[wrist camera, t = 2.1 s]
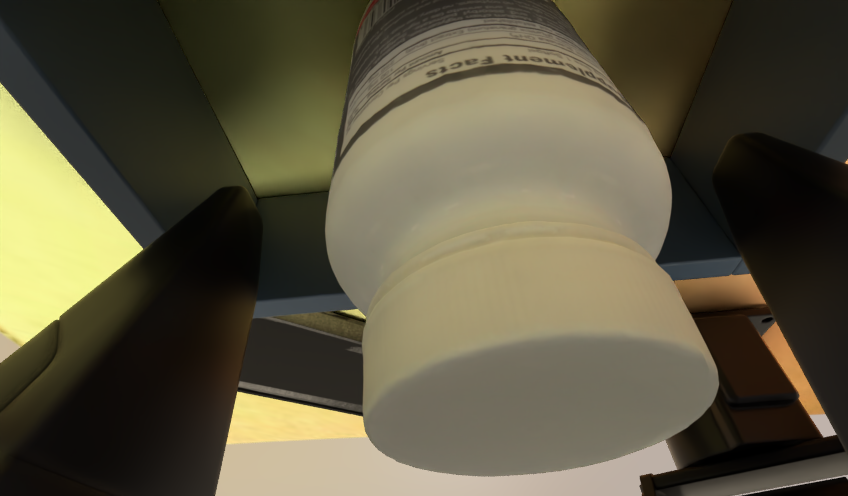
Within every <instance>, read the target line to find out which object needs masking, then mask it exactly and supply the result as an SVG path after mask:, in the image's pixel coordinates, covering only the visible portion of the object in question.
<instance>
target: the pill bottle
mask: <svg viewBox="0 0 848 496" xmlns="http://www.w3.org/2000/svg"><path fill="white" fill-rule="evenodd" d="M671 207H672V190H671V183H670V178H669V174H668V170H667V167H666V164H665V161H664V159H663V156H662V154H661V153H660V151H659V149H658V147H657V145H656V143H655V142H654V140H653V138H652V135H651V133H650V131H649V129H648V128H647V126H646V125H645V123H644V122H643V121H642V119H641V118H640V117H639V116H638V115H637V114H636V112H635V111H634V109H633V108H632V107H631V105H630V104H629V103H628V101H627V100H626V99H625V98H624V96H623V95H622V94H621V93H620V91H619V90H618V89H617V88H616V86H615V85H614V83H613V82H612V81H611V79H610V78H609V76H608V75H607V73H606V72H605V71H604V69H603V68H602V67H601V65H600V64H599V63H598V61H597V60H596V59H595V57H594V56H593V55H592V54H591V52H590V51H589V50H588V48H587V46H586V45H585V44H584V42H583V41H582V40H581V38H580V37H579V36H578V34H577V33H576V31H575V30H574V28H573V26H572V25H571V24H570V22H569V21H568V20H567V18H566V17H565V16H564V15H563V13H562V12H561V11H560V10H559V9H558V7H557V6H556V5H555V3H554V2H553V1H552V0H370V2H369V3H368V5H367V7H366V9H365V11H364V14H363V16H362V18H361V21H360V23H359V26H358V30H357V33H356V37H355V41H354V45H353V52H352V59H351V67H350V73H349V79H348V85H347V91H346V97H345V103H344V108H343V114H342V119H341V125H340V129H339V133H338V139H337V148H336V153H335V161H334V168H333V175H332V180H331V186H330V191H329V198H328V205H327V211H326V224H325V237H326V246H327V253H328V257H329V261H330V264H331V267H332V270H333V272H334V274H335V276H336V278H337V280H338V282H339V284H340V286H341V288H342V289H343V290H344V292H345V293H346V294H347V296H348V297H349V299H350V300H351V301H352V303H353V304H354V305H355V306H356V307H357V308H358V309H359V310H360V311H361V312H362V313H363V314H364V315H365V316H366V325H365V327H364V331H363V339H362V351H363V420H364V427H365V432H366V434H367V435H368V437H369V439H370V441H371V442H372V443H373V444H374V446H375V447H376V448H377V449H378V450H380V451H381V452H382V453H384V454H385V455H387V456H389V457H390V458H393V459H395V460H396V461H398V462H400V463H403V464H406V465H409V466H412V467H415V468H420V469H424V470H429V471H434V472H440V473H449V474H456V475H468V476H509V475H523V474H536V473H546V472H554V471H562V470H567V469H573V468H578V467H584V466H589V465H593V464H597V463H601V462H605V461H609V460H613V459H616V458H619V457H622V456H625V455H628V454H630V453H633V452H636V451H639V450H642V449H644V448H647V447H650V446H652V445H655V444H657V443H659V442H661V441H664V440H666V439H668V438H670V437H672V436H673V435H675V434H677V433H679V432H680V431H682V430H684V429H686V428H688V426H689V425H690V424H692V423H693V422H694V421H696V420H697V419H699V418H700V417H701V416H702V415H703V414H704V413H705V411H706V410H707V409H708V408H709V407H710V406H711V404H712V403H713V401H714V399H715V397H716V394H717V391H718V387H719V380H718V370H717V368H716V365H715V362H714V360H713V358H712V356H711V354H710V352H709V350H708V348H707V346H706V344H705V342H704V340H703V338H702V336H701V334H700V332H699V330H698V328H697V326H696V324H695V322H694V320H693V318H692V316H691V314H690V312H689V311H688V309H687V307H686V305H685V303H684V301H683V299H682V298H681V295H680V292H679V290H678V288H677V287H676V285H675V283H674V282H673V280H672V279H671V277H670V275H668V274H667V273H666V272H665V271H664V270H663V269H662V268H661V267H660V266H659V265H658V264H657V263H656V261H655V260H656V258H657V256H658V255H659V253H660V251H661V248H662V245H663V243H664V240H665V237H666V234H667V231H668V226H669V221H670V214H671Z"/></svg>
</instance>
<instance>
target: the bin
mask: <svg viewBox="0 0 848 496" xmlns="http://www.w3.org/2000/svg"><path fill="white" fill-rule="evenodd" d="M0 83H1V84H2V85H3V86H4V87H5V88H6V90H7V91H8V92H9V93H10V94H11V95H12V97H13V98H14V99H15V100H16V101H17V102H18V104H19V105H20V106H21V107H22V108H23V109H24V110H25V112H26V113H27V114H28V115H29V116H30V117H31V119H32V120H33V121H34V122H35V123H36V124H37V126H38V127H39V128H40V129H41V130H42V131H43V133H44V134H45V135H46V136H47V137H48V138H49V140H50V141H51V142H52V143H53V144H54V145H55V147H56V148H57V149H58V150H59V151H60V152H61V153H62V155H63V156H64V157H65V158H66V159H67V160H68V162H69V163H70V164H71V165H72V166H73V167H74V169H75V170H76V171H77V172H78V173H79V174H80V176H81V177H82V178H83V179H84V180H85V181H86V183H87V184H88V185H89V186H90V187H91V188H92V190H93V191H94V192H95V193H96V194H97V195H98V196H99V198H100V199H101V200H102V201H103V202H104V203H105V205H106V206H107V207H108V208H109V209H110V210H111V212H112V213H113V214H114V215H115V216H116V217H117V219H118V220H119V221H120V222H121V223H122V224H123V226H124V227H125V228H126V229H127V230H128V231H129V232H130V234H131V235H132V236H133V237H134V238H135V239H136V241H137V242H138V243H139V244H140V245H141V246H142V248H143V249H145V248H146V247H147V246H148V245H150V244H151V243H152V242H153V241H155V240H156V239H157V238H158V237H160V236H161V235H162V234H163V233H165V232H166V231H167V230H168V229H170V228H171V227H172V226H173V225H175V224H176V223H177V222H178V221H180V220H181V219H182V218H183V217H185V216H186V215H187V214H188V213H190V212H191V211H192V210H193V209H195V208H196V207H197V206H198V205H200V204H201V203H202V202H203V201H205V200H206V199H207V198H209V197H210V196H211V195H212V194H214V193H215V192H216V191H217V190H219V189H220V188H222V187H229V186H239V185H240V186H243V187H245V188H246V189H247V190H248V192H249V194H250V196H251V198H252V200H253V202H254V204H255V205H256V207H257V209H258V211H259V213H260V215H261V218H262V221H263V238H262V250H261V261H260V273H259V285H258V293H257V299H256V305H255V310H254V314H253V318H262V317H273V316H284V315H295V314H307V313H318V312H329V311H340V310H351V309H358V308H357V307H356V306H355V305H354V304H353V303H352V301H351V300H350V299H349V297H348V296H347V294H346V293H345V292H344V290H343V289H342V288H341V286H340V284H339V282H338V280H337V278H336V276H335V274H334V272H333V270H332V267H331V264H330V261H329V257H328V253H327V246H326V237H325V224H326V211H327V205H328V198H329V192H320V193H310V194H300V195H291V196H281V197H271V198H261V199H257V197H256V195H255V193H254V191H253V189H252V188H251V186H250V184H249V182H248V180H247V178H246V176H245V174H244V172H243V170H242V168H241V166H240V164H239V162H238V160H237V158H236V156H235V154H234V152H233V150H232V148H231V146H230V144H229V142H228V140H227V138H226V136H225V134H224V132H223V130H222V128H221V126H220V124H219V122H218V120H217V118H216V116H215V114H214V112H213V110H212V108H211V106H210V104H209V102H208V100H207V98H206V96H205V94H204V92H203V90H202V88H201V86H200V84H199V82H198V80H197V78H196V76H195V74H194V72H193V70H192V68H191V67H190V65H189V63H188V61H187V59H186V57H185V55H184V53H183V51H182V49H181V47H180V45H179V43H178V41H177V39H176V37H175V35H174V33H173V31H172V29H171V27H170V25H169V23H168V21H167V19H166V17H165V15H164V13H163V11H162V9H161V7H160V5H159V3H158V1H157V0H0ZM753 132H760V133H764V134H767V135H769V136H772V137H775V138H777V139H780V140H783V141H786V142H788V143H791V144H794V145H796V146H799V147H802V148H805V149H807V150H810V151H813V152H815V153H818V154H821V155H824V156H826V157H829V158H832V159H835V160H837V161H840V162H843V163H845V162H846V161H847V159H848V0H733V2H732V5H731V7H730V10H729V12H728V15H727V17H726V20H725V22H724V25H723V27H722V30H721V32H720V35H719V37H718V40H717V42H716V45H715V47H714V50H713V52H712V55H711V57H710V60H709V62H708V65H707V67H706V70H705V72H704V75H703V77H702V80H701V82H700V85H699V87H698V90H697V92H696V95H695V97H694V100H693V103H692V105H691V108H690V110H689V113H688V115H687V118H686V120H685V123H684V125H683V128H682V130H681V133H680V135H679V138H678V140H677V143H676V145H675V148H674V150H673V153H672V155H671V158H669V157H665V158H663V159H664V161H665V164H666V167H667V170H668V174H669V178H670V183H671V190H672V207H671V214H670V221H669V226H668V231H667V234H666V237H665V240H664V243H663V245H662V248H661V251H660V253H659V255H658V256H657V258H656V260H655V261H656V263H657V264H658V265H659V266H660V267H661V268H662V269H663V270H664V271H665V272H666V273H667V274H668V275H670V277H671V279H672V280H673V281H675V280H686V279H698V278H709V277H720V276H729V275H731V274H732V275H741V274H750V272H749V270H748V268H747V266H746V265H745V263H744V261H743V259H742V257H741V255H740V253H739V251H738V248H737V246H736V244H735V241H734V239H733V236H732V234H731V231H730V228H729V226H728V223H727V221H726V218H725V216H724V213H723V210H722V208H721V205H720V203H719V200H718V197H717V195H716V192H715V190H714V187H713V184H712V173H713V170H714V168H715V166H716V164H717V162H718V160H719V158H720V156H721V154H722V152H723V150H724V148H725V146H726V144H727V142H728V140H729V139H730V138H731V137H733V136H734V135H737V134H744V133H753Z"/></svg>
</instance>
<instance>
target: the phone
mask: <svg viewBox="0 0 848 496" xmlns="http://www.w3.org/2000/svg"><path fill="white" fill-rule="evenodd" d="M365 325H366V323H364V322H361V321H358V320H354V319H351V318H348V317H344V316H341V315H338V314H335V313H331V312H318V313H307V314H295V315H284V316H273V317H262V318H253V319H252V324H251V329H250V333H249V338H248V343H247V347H246V352H245V357H244V362H243V366H242V371H241V376H240V380H239V385H238V390H237V391H238V392H243V393H248V394H253V395H258V396H263V397H268V398H273V399H278V400H283V401H288V402H293V403H298V404H303V405H308V406H313V407H318V408H323V409H328V410H333V411H338V412H343V413H348V414H353V415H358V416H363V351H362V339H363V331H364V327H365Z"/></svg>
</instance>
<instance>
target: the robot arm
mask: <svg viewBox="0 0 848 496" xmlns="http://www.w3.org/2000/svg"><path fill="white" fill-rule="evenodd" d="M712 184H713V187H714V190H715V192H716V195H717V197H718V200H719V203H720V205H721V208H722V210H723V213H724V216H725V218H726V221H727V223H728V226H729V228H730V231H731V234H732V236H733V239H734V241H735V244H736V246H737V248H738V251H739V253H740V255H741V257H742V259H743V261H744V263H745V265H746V266H747V268H748V270H749V272H750V274H751V276H752V278H753V279H754V281H755V283H756V285H757V287H758V289H759V291H760V292H761V294H762V296H763V298H764V300H765V302H766V304H767V306H768V307H769V308H757V309H745V310H733V311H722V312H710V313H699V314H691V316H692V318H693V320H694V322H695V324H696V326H697V328H698V330H699V332H700V334H701V336H702V338H703V340H704V342H705V344H706V346H707V348H708V350H709V352H710V354H711V356H712V358H713V360H714V362H715V365H716V368H717V370H718V380H719V387H718V391H717V394H716V397H715V399H714V401H713V403H712V404H711V406H710V407H709V408H708V409H707V410H706V411H705V413H704V414H703V415H702V416H701V417H700V418H699V419H697V420H696V421H694V422H693V423H692V424H690V425H689V426H688V428H686V429H684V430H682V431H680V432H679V433H677V434H675V435H673V436H672V437H670V438H668V439H666V443H667V445H668V448H669V450H670V452H671V455H672V457H673V460H674V462H675V465H676V467H677V470H674V471H670V472H666V473H661V474H657V475H653V474H646V475H642V476H640V481H641V485H640V489H641V492H642V496H733V495H739V494H744V493H750V492H755V491H760V490H766V489H772V488H777V487H783V486H787V485H793V484H799V483H804V482H810V481H815V480H821V479H826V478H832V477H837V476H842V475H848V164H845V163H843V162H840V161H837V160H835V159H832V158H829V157H826V156H824V155H821V154H818V153H815V152H813V151H810V150H807V149H805V148H802V147H799V146H796V145H794V144H791V143H788V142H786V141H783V140H780V139H777V138H775V137H772V136H769V135H767V134H764V133H760V132H753V133H744V134H737V135H734V136H733V137H731V138H730V139H729V140H728V142H727V144H726V146H725V148H724V150H723V152H722V154H721V156H720V158H719V160H718V162H717V164H716V166H715V168H714V170H713V173H712ZM262 238H263V221H262V218H261V215H260V213H259V211H258V209H257V207H256V205H255V204H254V202H253V200H252V198H251V196H250V194H249V192H248V190H247V189H246V188H245V187H243V186H240V185H239V186H229V187H222V188H220V189H219V190H217V191H216V192H215V193H214V194H212V195H211V196H210V197H209V198H207V199H206V200H205V201H203V202H202V203H201V204H200V205H198V206H197V207H196V208H195V209H193V210H192V211H191V212H190V213H188V214H187V215H186V216H185V217H183V218H182V219H181V220H180V221H178V222H177V223H176V224H175V225H173V226H172V227H171V228H170V229H168V230H167V231H166V232H165V233H163V234H162V235H161V236H160V237H158V238H157V239H156V240H155V241H153V242H152V243H151V244H150V245H148V246H147V247H146V248H145V249H143V250H142V251H141V252H140V253H138V254H137V255H136V256H135V257H133V258H132V259H131V260H130V261H128V262H127V263H126V264H125V265H123V266H122V267H121V268H120V269H118V270H117V271H116V272H115V273H113V274H112V275H111V276H110V277H108V278H107V279H106V280H105V281H103V282H102V283H101V284H100V285H98V286H97V287H96V288H95V289H93V290H92V291H91V292H90V293H88V294H87V295H86V296H85V297H83V298H82V299H81V300H80V301H78V302H77V303H76V304H75V305H73V306H72V307H71V308H70V309H68V310H67V311H66V312H65V313H63V314H62V315H61V316H60V318H59V320H55V321H53V322H52V323H51V324H50V325H48V326H47V327H46V328H45V329H43V330H42V331H41V332H40V333H38V334H37V335H36V336H35V337H33V338H32V339H31V340H30V341H28V342H27V343H26V344H24V345H23V346H22V347H21V348H19V349H18V350H17V351H15V352H14V353H13V354H12V355H10V356H9V357H8V358H7V359H5V360H4V361H3V362H2V363H0V496H215V494H216V489H217V484H218V479H219V475H220V470H221V465H222V461H223V456H224V451H225V446H226V442H227V437H228V432H229V428H230V423H231V418H232V413H233V409H234V404H235V399H236V395H237V390H238V385H239V380H240V376H241V371H242V366H243V362H244V357H245V352H246V347H247V343H248V338H249V333H250V329H251V324H252V319H253V314H254V310H255V305H256V299H257V293H258V285H259V273H260V261H261V250H262ZM775 321H776V322H777V324H778V326H779V328H780V330H781V332H782V333H783V335H784V337H785V339H786V341H787V343H788V345H789V347H790V348H791V350H792V352H793V354H794V356H795V358H796V360H797V361H798V363H799V365H800V367H801V369H802V371H803V373H804V375H805V376H806V378H807V380H808V382H809V384H810V386H811V388H812V389H813V391H814V393H815V395H816V397H817V399H818V401H819V402H820V404H821V406H822V408H823V410H824V412H825V414H826V416H827V417H828V419H829V421H830V423H831V425H832V427H833V429H834V430H835V432H836V434H837V435H833V436H829V437H823V436H822V434H821V433H820V431H819V430H818V428H817V427H816V425H815V424H814V422H813V421H812V419H811V418H810V416H809V414H808V413H807V411H806V410H805V408H804V407H803V405H802V404H801V402H800V401H799V399H798V398H799V393H798V391H797V390H796V388H795V387H794V385H793V384H792V382H791V381H790V379H789V378H788V376H787V375H786V373H785V372H784V370H783V369H782V367H781V366H780V364H779V363H778V361H777V360H776V358H775V357H774V355H773V354H772V352H771V351H770V349H769V348H768V346H767V344H766V343H765V341H764V340H763V338H762V337H761V336H762V335H763V334H764V333H765V332H766V331H767V330H768V329H769V328H770V327H771V326H772V325H773V324H774V323H775ZM742 496H848V479H847V478H846V477H841V478H836V479H830V480H825V481H819V482H814V483H809V484H803V485H798V486H792V487H786V488H781V489H775V490H770V491H764V492H759V493H754V494H748V495H742Z"/></svg>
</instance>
